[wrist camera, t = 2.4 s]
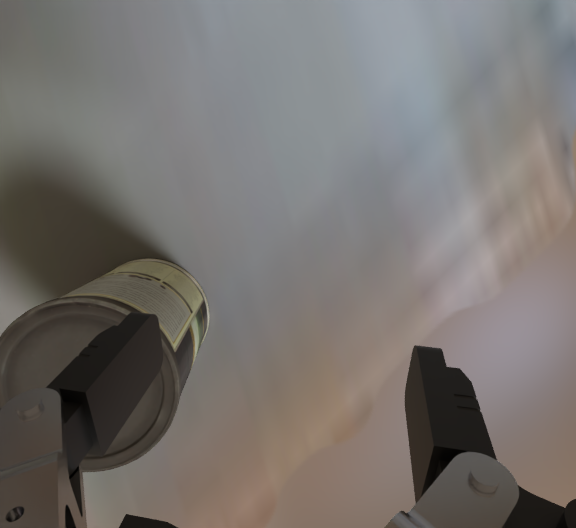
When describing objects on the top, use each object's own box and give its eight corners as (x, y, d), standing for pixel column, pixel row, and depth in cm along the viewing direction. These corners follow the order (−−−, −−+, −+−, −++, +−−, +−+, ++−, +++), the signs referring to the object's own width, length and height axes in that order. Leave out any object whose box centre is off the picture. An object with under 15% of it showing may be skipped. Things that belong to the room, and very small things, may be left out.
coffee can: (226, 348, 37) (204, 440, 24) (118, 383, 37) (33, 496, 24) (187, 240, 36) (137, 272, 22) (73, 278, 36) (-49, 333, 22)
